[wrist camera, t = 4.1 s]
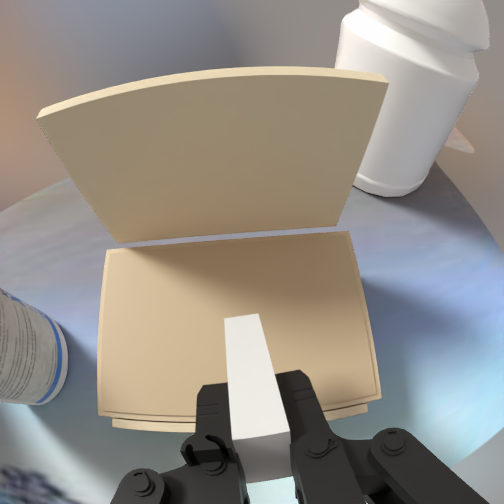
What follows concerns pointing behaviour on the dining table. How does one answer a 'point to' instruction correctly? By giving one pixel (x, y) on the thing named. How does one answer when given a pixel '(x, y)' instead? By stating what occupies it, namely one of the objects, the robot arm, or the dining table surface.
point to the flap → (218, 149)
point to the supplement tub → (29, 353)
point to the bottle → (413, 81)
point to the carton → (213, 329)
